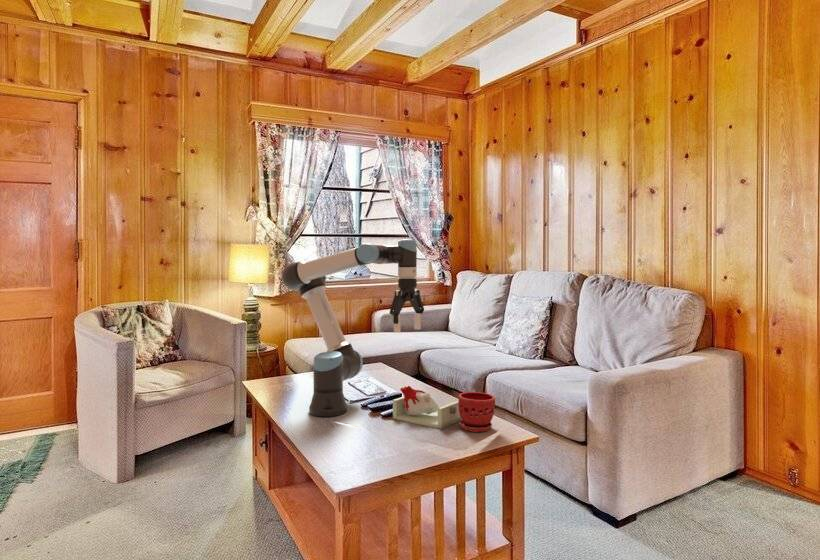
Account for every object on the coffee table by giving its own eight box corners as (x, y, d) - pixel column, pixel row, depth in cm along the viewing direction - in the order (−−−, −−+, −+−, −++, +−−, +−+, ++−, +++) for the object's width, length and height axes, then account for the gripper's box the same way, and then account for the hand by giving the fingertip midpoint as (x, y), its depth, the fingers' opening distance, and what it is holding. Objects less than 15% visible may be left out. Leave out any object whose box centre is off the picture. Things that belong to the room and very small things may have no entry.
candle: (438, 412, 190) (413, 380, 190) (415, 429, 192) (390, 397, 193) (441, 404, 199) (417, 374, 199) (419, 420, 201) (395, 390, 202)
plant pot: (472, 436, 174) (471, 401, 174) (451, 426, 186) (451, 393, 186) (502, 430, 180) (502, 397, 180) (480, 421, 192) (480, 389, 192)
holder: (390, 418, 196) (390, 399, 196) (411, 410, 207) (411, 392, 207) (444, 429, 182) (444, 409, 181) (464, 420, 193) (464, 401, 193)
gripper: (395, 278, 194) (395, 333, 194) (432, 277, 214) (432, 328, 214) (380, 278, 198) (380, 332, 198) (417, 277, 218) (417, 327, 218)
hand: (407, 330), depth 206 cm, fingers open, 13 cm apart
